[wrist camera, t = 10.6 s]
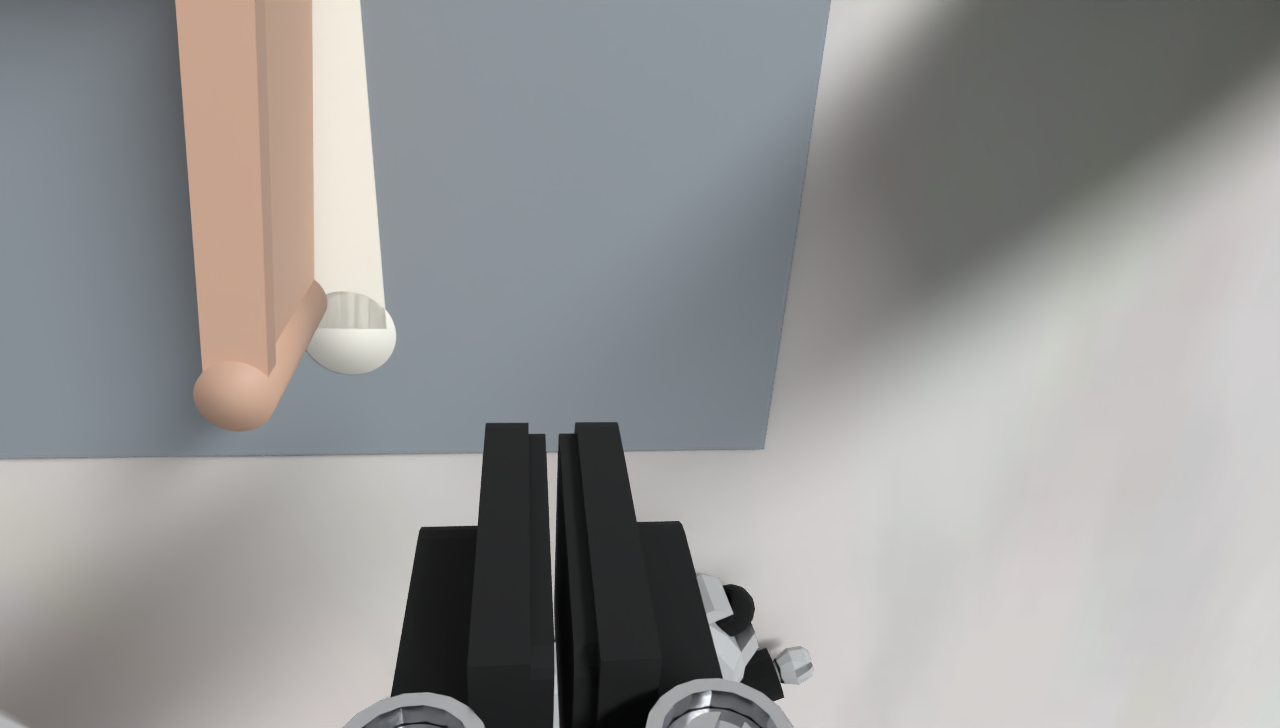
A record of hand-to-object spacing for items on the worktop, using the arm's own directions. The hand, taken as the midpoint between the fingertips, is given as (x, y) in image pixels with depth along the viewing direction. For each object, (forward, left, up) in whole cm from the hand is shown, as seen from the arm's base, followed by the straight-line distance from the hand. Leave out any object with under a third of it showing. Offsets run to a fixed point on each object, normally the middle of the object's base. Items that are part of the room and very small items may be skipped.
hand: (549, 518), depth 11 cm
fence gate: (-7, +1, -18) cm, 19 cm away
